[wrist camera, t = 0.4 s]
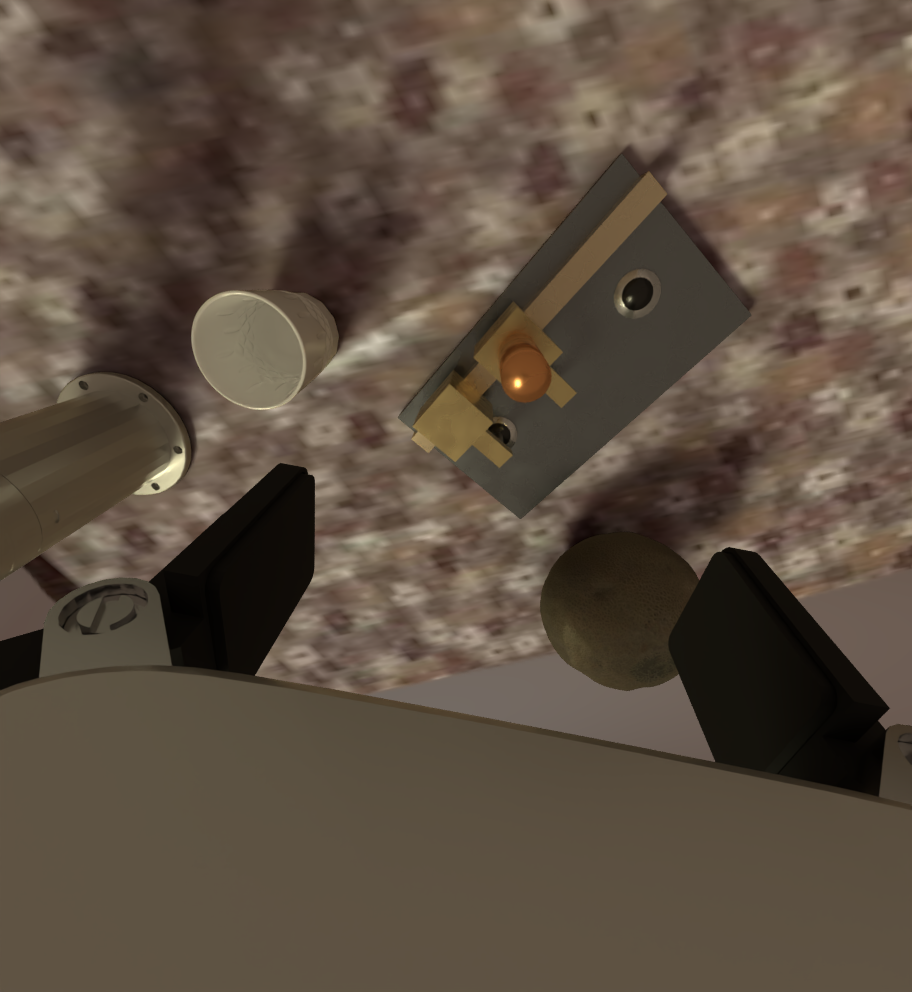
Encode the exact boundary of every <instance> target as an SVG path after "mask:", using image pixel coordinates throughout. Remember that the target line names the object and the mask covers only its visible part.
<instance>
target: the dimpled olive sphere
mask: <svg viewBox="0 0 912 992" xmlns="http://www.w3.org/2000/svg"><path fill="white" fill-rule="evenodd" d="M698 582H699V579H698V577H697V575H696V573H695V572H694V570H693V569H692V568H691V566H690V565H689V564H688V563H687V562H686V561H685V560H684V559H683V558H682V557H681V556H679V555H678V554H677V553H675V552H674V551H673V550H671V549H670V548H668V547H667V546H665V545H663V544H661V543H659V542H657V541H655V540H653V539H650V538H647V537H645V536H642V535H639V534H636V533H632V532H615V533H609V534H602V535H596V536H593V537H590V538H587V539H585V540H583V541H581V542H579V543H578V544H576V545H574V546H573V547H571V548H570V549H569V550H567V551H566V552H565V553H564V554H563V555H562V556H560V558H559V559H558V560H557V561H556V563H555V564H554V565H553V567H552V568H551V570H550V572H549V575H548V577H547V579H546V580H545V583H544V586H543V589H542V593H541V600H540V612H541V617H542V621H543V625H544V628H545V630H546V633H547V636H548V638H549V640H550V642H551V644H552V645H553V647H554V649H555V650H556V651H557V653H558V654H559V655H560V657H561V658H562V659H563V660H564V661H565V662H566V663H567V664H569V665H570V666H572V667H573V668H575V669H576V670H578V671H580V672H582V673H583V674H585V675H586V676H588V677H589V678H591V679H592V680H593V681H595V682H597V683H599V684H601V685H603V686H606V687H609V688H614V689H619V690H624V691H630V690H634V689H638V688H642V687H653V686H657V685H660V684H663V683H665V682H667V681H669V680H670V679H672V678H674V677H675V676H677V675H678V674H679V673H678V671H677V668H676V666H675V663H674V661H673V659H672V656H671V654H670V651H669V647H668V640H669V636H670V633H671V632H672V630H673V628H674V626H675V624H676V622H677V621H678V619H679V617H680V615H681V613H682V611H683V610H684V608H685V606H686V604H687V602H688V601H689V599H690V597H691V595H692V593H693V591H694V590H695V588H696V586H697V584H698Z"/></svg>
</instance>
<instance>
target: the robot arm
mask: <svg viewBox="0 0 912 992" xmlns="http://www.w3.org/2000/svg"><path fill="white" fill-rule="evenodd" d="M190 462H191V444H190V439H189V436H188V433H187V430H186V428H185V426H184V424H183V422H182V420H181V418H180V416H179V415H178V414H177V412H176V411H175V410H174V408H173V407H172V406H171V405H170V404H169V403H168V402H167V401H166V400H165V399H164V398H163V397H162V396H161V395H160V394H159V393H157V392H156V391H155V390H154V389H152V388H151V387H149V386H148V385H146V384H144V383H142V382H141V381H139V380H137V379H134V378H132V377H129V376H127V375H124V374H119V373H114V372H96V373H91V374H86V375H83V376H80V377H77V378H75V379H74V380H72V381H71V382H69V383H68V384H67V385H66V386H65V387H64V388H63V390H62V391H61V393H60V395H59V397H58V400H57V404H55V405H52V406H49V407H46V408H43V409H40V410H37V411H34V412H31V413H27V414H24V415H21V416H18V417H15V418H12V419H9V420H6V421H3V422H0V581H1V580H3V579H4V578H5V577H7V576H8V575H10V574H11V573H13V572H14V571H16V570H18V569H19V568H21V567H22V566H24V565H25V564H27V563H28V562H30V561H31V560H32V559H34V558H35V557H37V556H38V555H40V554H41V553H43V552H45V551H46V550H48V549H49V548H51V547H52V546H54V545H55V544H57V543H58V542H60V541H61V540H63V539H64V538H66V537H67V536H69V535H70V534H72V533H73V532H75V531H76V530H78V529H80V528H81V527H83V526H84V525H86V524H87V523H89V522H90V521H92V520H93V519H95V518H96V517H98V516H99V515H101V514H102V513H104V512H105V511H107V510H108V509H110V508H111V507H113V506H114V505H116V504H118V503H119V502H121V501H122V500H124V499H125V498H127V497H128V496H130V495H131V494H136V495H152V494H158V493H161V492H164V491H166V490H168V489H170V488H171V487H173V486H174V485H176V484H177V483H178V482H179V481H180V480H181V479H182V478H183V477H184V476H185V474H186V472H187V471H188V468H189V465H190ZM314 550H315V479H314V476H313V475H308V472H307V469H306V468H304V467H299V466H293V465H288V464H283V463H280V464H278V465H277V466H276V467H275V468H274V469H272V470H271V471H270V472H269V473H268V474H267V475H266V476H265V477H264V478H263V479H262V480H260V481H259V482H258V483H257V484H256V485H255V486H254V487H253V488H252V489H251V490H250V491H248V492H247V493H246V494H245V495H244V496H243V497H242V498H241V499H240V500H239V501H238V502H236V503H235V504H234V505H233V506H232V507H231V508H230V509H229V510H228V511H227V512H226V513H224V514H223V515H221V516H220V517H219V518H218V519H217V520H216V521H215V522H214V523H213V524H212V525H211V526H209V527H208V528H207V529H206V530H205V531H204V532H203V533H202V534H201V535H200V536H199V537H197V538H196V539H195V540H194V541H193V542H192V543H191V544H190V545H189V546H188V547H186V548H185V549H184V550H183V551H182V552H181V553H180V554H179V555H178V556H177V557H176V558H174V559H173V560H172V561H171V562H170V563H169V564H168V565H167V566H166V567H165V568H164V569H162V570H161V571H160V572H159V573H158V574H157V575H156V576H155V577H154V578H153V579H151V580H150V581H149V582H148V581H145V580H141V579H137V578H113V579H106V580H102V581H98V582H95V583H91V584H88V585H85V586H83V587H81V588H79V589H77V590H75V591H72V592H71V593H69V594H68V595H66V596H65V597H63V598H62V599H60V600H59V601H58V602H57V603H56V604H55V605H54V606H53V607H52V609H50V611H49V612H48V614H47V617H46V620H45V622H44V629H41V630H38V631H34V632H30V633H27V634H23V635H20V636H17V637H13V638H10V639H6V640H3V641H0V992H912V726H910V725H901V724H896V725H893V726H890V727H889V728H888V729H886V730H885V729H884V728H883V726H882V725H881V724H880V723H879V722H878V720H879V719H880V718H881V717H882V716H883V714H885V713H886V712H887V711H888V710H889V707H888V706H887V704H886V703H885V702H884V701H883V700H882V698H881V697H880V696H879V695H878V694H877V693H876V692H875V690H874V689H873V688H872V687H871V686H870V685H869V684H868V682H867V681H866V680H865V679H864V677H863V676H862V675H861V674H860V673H859V671H858V670H857V669H856V668H855V667H854V666H853V664H852V663H851V662H850V661H849V660H848V659H847V657H846V656H845V655H844V654H843V653H842V652H841V650H840V649H839V648H838V647H837V646H836V644H835V643H834V642H833V641H832V640H831V639H830V637H829V636H828V635H827V634H826V633H825V632H824V630H823V629H822V628H821V627H820V626H819V625H818V623H817V622H816V621H815V620H814V619H813V617H812V616H811V615H810V614H809V613H808V612H807V611H806V609H805V608H804V607H803V606H802V605H801V603H800V602H799V601H798V600H797V599H796V598H795V596H794V595H793V594H792V593H791V592H790V590H789V589H788V588H787V587H786V586H785V585H784V583H783V582H782V581H781V580H780V579H779V578H778V576H777V575H776V574H775V573H774V572H773V571H772V569H771V568H770V567H769V566H768V565H767V563H766V562H765V561H764V560H763V559H762V558H761V556H760V555H759V554H757V553H756V552H752V551H747V550H741V549H736V548H731V547H728V548H725V549H724V550H722V552H717V553H715V554H714V555H713V557H712V558H711V560H710V562H709V564H708V566H707V568H706V569H705V571H704V573H703V575H702V577H701V579H700V580H699V582H698V584H697V586H696V588H695V590H694V591H693V593H692V595H691V597H690V599H689V601H688V602H687V604H686V606H685V608H684V610H683V611H682V613H681V615H680V617H679V619H678V621H677V622H676V624H675V626H674V628H673V630H672V632H671V633H670V636H669V640H668V647H669V651H670V654H671V656H672V659H673V661H674V663H675V666H676V668H677V671H678V673H679V675H680V678H681V680H682V683H683V685H684V687H685V690H686V692H687V695H688V697H689V699H690V702H691V704H692V706H693V709H694V711H695V713H696V716H697V719H698V721H699V723H700V726H701V728H702V731H703V733H704V735H705V738H706V740H707V742H708V745H709V747H710V750H711V752H712V755H713V757H714V759H715V762H711V761H706V760H702V759H696V758H691V757H686V756H681V755H676V754H671V753H666V752H661V751H656V750H651V749H646V748H641V747H636V746H630V745H625V744H620V743H615V742H609V741H605V740H599V739H594V738H589V737H584V736H578V735H573V734H568V733H563V732H558V731H552V730H548V729H542V728H537V727H532V726H527V725H521V724H516V723H511V722H505V721H500V720H495V719H490V718H484V717H479V716H474V715H469V714H464V713H458V712H453V711H447V710H442V709H437V708H431V707H425V706H421V705H415V704H410V703H404V702H399V701H394V700H388V699H383V698H377V697H372V696H367V695H361V694H356V693H351V692H345V691H340V690H335V689H329V688H323V687H317V686H311V685H305V684H300V683H294V682H288V681H282V680H276V679H270V678H264V677H258V676H255V674H256V673H257V671H258V669H259V668H260V666H261V664H262V663H263V661H264V659H265V658H266V656H267V654H268V653H269V651H270V649H271V648H272V646H273V644H274V642H275V641H276V639H277V637H278V636H279V634H280V632H281V631H282V629H283V627H284V626H285V624H286V622H287V621H288V619H289V617H290V616H291V614H292V612H293V611H294V609H295V607H296V606H297V604H298V602H299V601H300V599H301V597H302V596H303V594H304V592H305V591H306V589H307V587H308V585H309V584H310V582H311V580H312V577H313V573H314Z"/></svg>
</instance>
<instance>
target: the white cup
mask: <svg viewBox="0 0 912 992" xmlns="http://www.w3.org/2000/svg"><path fill="white" fill-rule="evenodd" d="M338 340H339V334H338V330H337V327H336V323H335V319H334V317H333V316H332V314H331V313H330V312H329V311H328V309H327V308H326V307H325V305H324V304H323V303H322V302H321V301H319V300H317V299H315V298H314V297H312V296H310V295H308V294H307V293H301V292H289V291H284V290H233V291H226V292H222V293H219V294H216V295H214V296H213V297H211V298H210V299H208V300H207V301H206V302H205V303H204V304H203V305H202V306H201V307H200V309H199V310H198V312H197V314H196V316H195V318H194V321H193V325H192V332H191V342H192V349H193V353H194V357H195V359H196V362H197V364H198V367H199V369H200V370H201V372H202V374H203V375H204V377H205V378H206V380H207V381H208V382H209V383H210V385H211V386H212V387H213V388H214V389H215V390H216V391H217V392H219V393H220V394H221V395H222V396H224V397H225V398H227V399H228V400H230V401H232V402H233V403H235V404H238V405H240V406H243V407H246V408H250V409H256V410H267V409H273V408H277V407H279V406H282V405H284V404H286V403H287V402H289V401H290V400H291V399H292V398H293V397H295V396H296V395H297V394H298V393H299V392H300V391H301V390H302V389H304V388H305V387H306V386H307V385H308V384H309V383H311V382H312V381H313V380H314V379H315V378H316V377H317V376H318V375H319V374H320V373H321V372H322V371H323V370H324V368H325V367H326V366H327V365H328V364H329V363H330V361H331V360H332V359H333V357H334V356H335V354H336V353H337V346H338Z"/></svg>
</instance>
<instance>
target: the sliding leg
mask: <svg viewBox="0 0 912 992" xmlns="http://www.w3.org/2000/svg"><path fill="white" fill-rule="evenodd" d="M562 353H563V352H562V350H561V349H560V348H559V347H558V346H557V345H556V344H555V342H554V341H553V340H552V339H551V338H550V337H549V336H548V335H547V334H546V333H545V332H544V331H543V330H542V329H541V328H540V327H539V326H538V325H537V324H536V323H535V322H534V321H533V320H532V319H531V318H530V317H529V316H528V315H527V314H526V313H525V312H524V311H523V310H522V309H521V308H520V307H519V306H518V305H517V304H516V303H515V302H514V301H513V302H512V303H511V304H510V306H509V307H508V308H507V309H506V310H505V311H504V312H503V314H502V315H501V316H500V317H499V318H498V319H497V321H496V322H495V323H494V324H493V325H492V326H491V327H490V329H489V330H488V331H487V332H486V333H485V334H484V336H483V337H482V338H481V339H480V340H479V341H478V343H477V344H476V345H475V348H474V356H473V358H474V359H475V360H477V361H478V362H479V363H480V364H481V365H482V366H483V367H484V368H485V369H486V370H487V371H488V372H490V373H491V374H492V375H493V376H494V377H495V378H496V379H497V380H498V381H499V382H500V383H501V384H502V387H503V389H504V391H505V393H506V394H507V395H508V396H509V397H510V398H511V399H513V400H515V401H518V402H523V403H527V402H532V401H535V400H537V399H539V398H540V397H542V396H543V395H544V394H545V393H546V394H547V395H548V396H549V397H550V398H551V399H552V400H553V401H554V402H555V403H557V404H558V405H559V406H560V407H561V408H562V407H563V406H564V405H565V404H566V403H567V402H568V401H569V400H570V399H571V398H572V397H573V396H574V395H575V394H577V393H576V391H575V390H574V389H573V388H572V387H571V386H570V385H569V384H568V383H567V382H566V381H565V380H564V379H563V378H562V377H561V376H560V375H559V374H558V373H557V372H556V371H555V370H554V369H553V368H552V367H551V366H550V365H551V364H552V363H553V362H554V361H555V360H556V359H557V358H558V357H559V356H560V355H561V354H562Z"/></svg>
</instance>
